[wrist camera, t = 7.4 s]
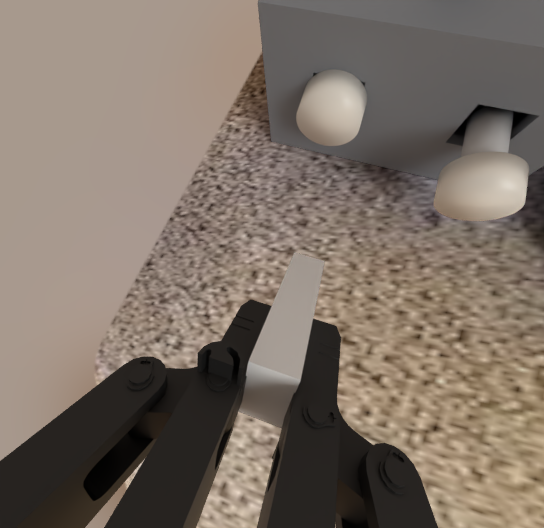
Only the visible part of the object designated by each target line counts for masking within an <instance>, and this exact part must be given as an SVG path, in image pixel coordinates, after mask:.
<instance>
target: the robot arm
mask: <svg viewBox="0 0 544 528" xmlns="http://www.w3.org/2000/svg"><path fill="white" fill-rule="evenodd" d="M324 262H325V261H324V260H320V259H317V258H313V257H310V256H306V255H303V254H299V253H296V252H294V255H293V257H292V259H291V262H290V264H289V267H288V269H287V271H286V274H285V276H284V278H283V281H282V283H281V285H280V288H279V290H278V293H277V295H276V297H275V300H274V302H273V304H272V306H269V305H266V304H263V303H260V302H257V301H254V300H249V301H248V302H246V303H245V304H243V305H242V306H241V307H240V309H239V311H238V312H237V314H236V317H235V318H234V319H233V321H232V323H231V325H230V326H229V328H228V330H227V332H226V333H225V335H224V337H223V339H222V340H221V341H218V342H212V343H210V344H208V345H206V346H204V347H203V348H202V349H201V350H200V351H199V352H198V367H194V368H189V369H175V368H165V365H164V364H163V363H162V362H161V360H159V359H156V358H154V357H140V358H136V359H133V360H131V361H129V362H128V363H126V364H124V365H123V366H122V367H120V368H119V369H118V370H117V371H115V372H114V373H113V374H111V375H110V376H109V377H108V378H106V379H105V380H104V381H102V382H101V383H100V384H99V385H97V386H96V387H95V388H93V389H92V390H91V391H90V392H88V393H87V394H86V395H84V396H83V397H82V398H81V399H79V400H78V401H77V402H75V403H74V404H73V405H72V406H70V407H69V408H68V409H66V410H65V411H64V412H63V413H61V414H60V415H59V416H58V417H56V418H55V419H54V420H52V421H51V422H50V423H49V424H47V425H46V426H45V427H43V428H42V429H41V430H40V431H38V432H37V433H36V434H34V435H33V436H32V437H31V438H29V439H28V440H27V441H26V442H24V443H23V444H22V445H21V446H19V447H18V448H16V449H15V450H14V451H13V452H11V453H10V454H9V455H7V456H6V457H5V458H4V459H2V460H1V461H0V528H85V527H86V526H87V525H88V523H89V522H90V521H91V520H92V519H93V518H94V516H95V515H96V514H97V513H98V512H99V510H101V508H102V507H103V506H104V505H105V504H106V503H107V501H108V500H109V499H110V498H111V497H112V496H113V494H114V493H115V492H116V491H117V490H118V488H120V486H121V485H122V484H123V483H124V482H125V481H126V479H127V478H128V477H129V476H130V475H131V474H132V473H133V471H134V470H135V469H136V468H137V467H138V466H139V464H140V463H141V462H142V461H143V460H144V459H145V460H144V462H143V463H142V465H141V467H140V468H139V470H138V472H137V474H136V475H135V477H134V479H133V480H132V482H131V484H130V485H129V487H128V489H127V490H126V492H125V494H124V495H123V497H122V499H121V501H120V502H119V504H118V506H117V507H116V509H115V510H114V512H113V514H112V516H111V517H110V519H109V521H108V522H107V524H106V526H105V527H104V528H196V526H197V523H198V521H199V518H200V515H201V513H202V510H203V507H204V505H205V502H206V499H207V497H208V494H209V492H210V489H211V486H212V484H213V481H214V478H215V476H216V473H217V470H218V468H219V465H220V462H221V460H222V457H223V455H224V452H225V449H226V447H227V444H228V441H229V439H230V436H231V433H232V431H233V425H234V421H235V419H236V416H237V414H238V411H239V412H241V413H244V414H246V415H249V416H251V417H254V418H257V419H259V420H262V421H264V422H267V423H269V424H272V425H275V426H277V427H280V428H282V430H281V434H280V438H279V442H278V444H277V447H276V449H275V452H274V454H273V456H272V459H273V462H272V467H271V471H270V475H269V479H268V483H267V488H266V492H265V496H264V500H263V504H262V509H261V513H260V517H259V521H258V525H257V528H335V523H336V528H438V526H437V523H436V521H435V518H434V515H433V512H432V509H431V506H430V504H429V501H428V498H427V495H426V492H425V490H424V487H423V484H422V481H421V478H420V476H419V474H418V472H417V470H416V468H415V466H414V464H413V463H412V462H411V461H410V459H409V458H408V457H407V456H406V455H405V454H404V453H403V452H402V451H400V450H399V449H398V448H396V447H395V446H392V445H389V444H386V443H380V444H375V445H372V444H371V443H370V442H368V441H367V440H366V439H364V438H363V437H362V436H360V435H359V434H358V433H356V432H355V431H354V430H353V429H352V428H351V427H349V426H348V424H347V423H346V422H345V420H344V419H343V417H342V416H341V414H340V412H339V408H338V405H337V388H338V373H339V358H340V343H341V337H340V334H339V332H338V329H337V327H336V326H334V325H331V324H328V323H325V322H322V321H319V320H316V319H313V317H314V312H315V307H316V302H317V297H318V292H319V287H320V282H321V277H322V272H323V267H324ZM146 456H147V457H146Z"/></svg>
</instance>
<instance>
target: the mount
mask: <svg viewBox="0 0 544 528" xmlns="http://www.w3.org/2000/svg"><path fill="white" fill-rule="evenodd" d="M258 9H259V20H260V29H261V40H262V51H263V61H264V72H265V82H266V92H267V103H268V113H269V124H270V134H271V142H276V143H280V144H284V145H289V146H293V147H297V148H302V149H306V150H310V151H315V152H319V153H323V154H328V155H332V156H337V157H341V158H345V159H350V160H354V161H358V162H363V163H367V164H371V165H376V166H380V167H384V168H389V169H393V170H397V171H402V172H406V173H410V174H415V175H419V176H423V177H428V178H432V179H436V180H438V178H439V174H440V172H441V170H442V169H443V168H444V167H445V166H446V165H447V164H449V163H450V162H452V161H454V160H456V159H458V158H460V157H461V153H462V147H463V142H464V136H465V131H466V125H467V121H468V119H469V117H470V116H471V115H472V114H473V113H474V112H476V111H478V110H479V109H481V108H484V107H487V106H491V107H496V108H501V109H506V110H512V111H513V114H514V115H513V122H512V129H511V136H510V143H509V150H508V153H510V154H514V155H517V156H519V157H521V158H523V159H524V160H525V161H526V162H527V163H528V166H529V175H530V174H532V173H533V172H535V171H537V170H538V169H540V168H541V167H543V166H544V0H259V1H258ZM331 69H337V70H343V71H346V72H349V73H351V74H352V75H354V76H355V77H357V78H358V79H359V80H360V81H361V83H362V84H363V86H364V87H365V90H366V93H367V103H366V107H365V111H364V114H363V118H362V121H361V125H360V129H359V131H358V134H357V135H356V136H355V138H354V139H352V140H351V141H350V142H348V143H346V144H343V145H339V146H325V145H321V144H318V143H315V142H313V141H311V140H310V139H308V138H307V137H306V136H305V135H304V134H303V133H302V132H301V131H300V129H299V127H298V125H297V121H296V114H297V111H298V108H299V105H300V102H301V99H302V96H303V93H304V90H305V87H306V85H307V83H308V82H309V80H310V79H311V78H312V77H313V76H314V75H316V74H318V73H319V72H322V71H325V70H331ZM529 175H528V176H529Z"/></svg>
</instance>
